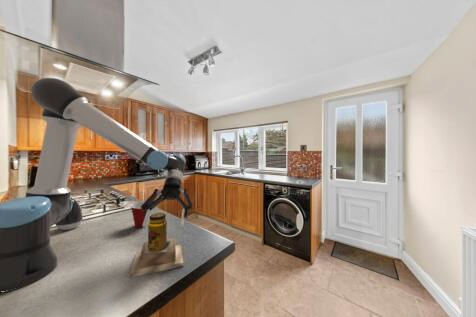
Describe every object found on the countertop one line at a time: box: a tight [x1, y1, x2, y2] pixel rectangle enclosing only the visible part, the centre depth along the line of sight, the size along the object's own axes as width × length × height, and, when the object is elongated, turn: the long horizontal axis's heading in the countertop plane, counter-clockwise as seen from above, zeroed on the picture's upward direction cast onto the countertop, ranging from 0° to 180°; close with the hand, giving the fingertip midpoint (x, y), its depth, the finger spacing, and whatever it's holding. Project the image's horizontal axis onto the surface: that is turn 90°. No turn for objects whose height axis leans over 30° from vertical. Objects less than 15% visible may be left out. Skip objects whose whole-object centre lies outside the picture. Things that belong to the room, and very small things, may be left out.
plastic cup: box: [129, 201, 145, 228], centre depth 93 cm, size 11×11×12 cm
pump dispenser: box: [54, 198, 84, 231], centre depth 88 cm, size 10×10×15 cm
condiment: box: [144, 212, 171, 253], centre depth 62 cm, size 7×8×12 cm
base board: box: [129, 237, 184, 278], centre depth 62 cm, size 16×13×5 cm
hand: (163, 226), depth 65 cm, fingers open, 13 cm apart
